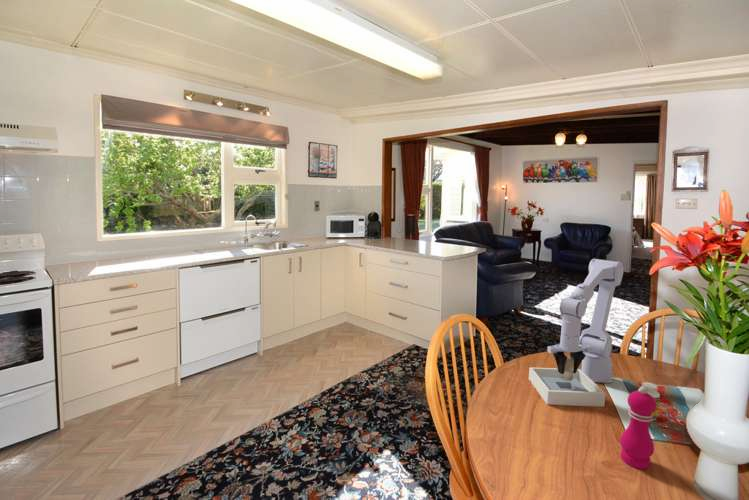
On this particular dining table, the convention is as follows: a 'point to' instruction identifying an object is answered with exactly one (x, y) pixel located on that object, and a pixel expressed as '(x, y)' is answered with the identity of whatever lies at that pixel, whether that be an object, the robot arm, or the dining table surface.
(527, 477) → the dining table surface
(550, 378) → the bore plate
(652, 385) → the supplement bottle
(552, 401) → the tray
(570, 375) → the peg
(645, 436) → the pepper mill
